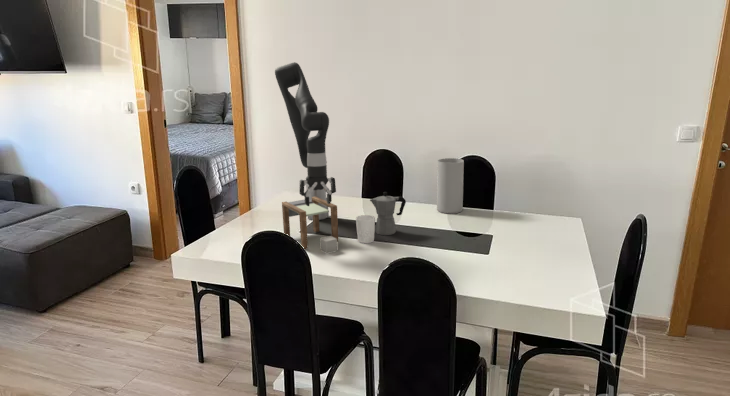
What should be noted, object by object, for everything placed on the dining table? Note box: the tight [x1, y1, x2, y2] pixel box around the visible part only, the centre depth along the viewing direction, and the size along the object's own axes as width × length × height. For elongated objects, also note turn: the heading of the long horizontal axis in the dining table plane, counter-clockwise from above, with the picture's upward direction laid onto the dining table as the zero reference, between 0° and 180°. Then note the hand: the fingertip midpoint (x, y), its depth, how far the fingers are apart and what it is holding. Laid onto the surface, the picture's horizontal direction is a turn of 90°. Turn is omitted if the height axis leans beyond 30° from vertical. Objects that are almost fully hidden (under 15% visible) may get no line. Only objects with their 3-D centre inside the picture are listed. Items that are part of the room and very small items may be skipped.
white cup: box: [355, 214, 376, 244], centre depth 212 cm, size 8×8×10 cm
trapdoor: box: [287, 199, 330, 218], centre depth 216 cm, size 20×11×5 cm, turn 32°
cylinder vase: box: [436, 157, 465, 215], centre depth 251 cm, size 12×12×25 cm
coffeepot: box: [369, 191, 407, 236], centre depth 222 cm, size 15×9×18 cm, turn 92°
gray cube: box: [319, 235, 339, 254], centre depth 203 cm, size 5×5×5 cm
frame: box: [281, 196, 339, 250], centre depth 215 cm, size 16×19×16 cm
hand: (318, 204), depth 204 cm, fingers open, 8 cm apart
